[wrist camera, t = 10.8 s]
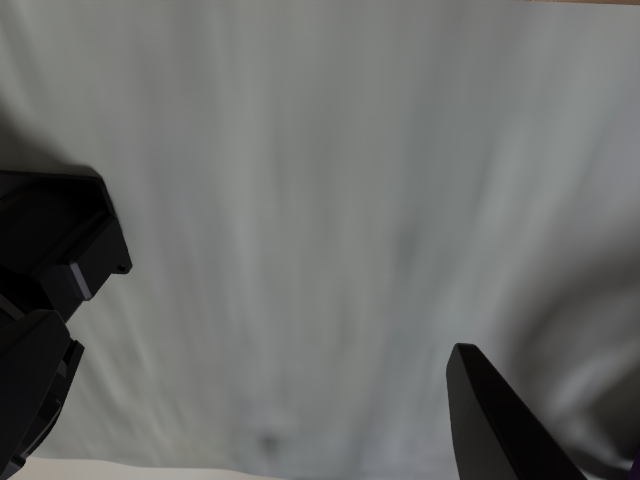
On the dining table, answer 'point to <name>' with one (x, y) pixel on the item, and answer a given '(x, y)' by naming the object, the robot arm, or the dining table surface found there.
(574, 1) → the bay
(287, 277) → the dining table surface
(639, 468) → the decorative bottle
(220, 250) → the dining table surface
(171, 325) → the dining table surface
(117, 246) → the robot arm
